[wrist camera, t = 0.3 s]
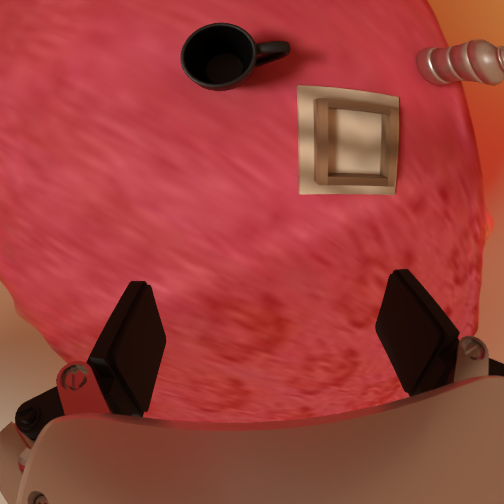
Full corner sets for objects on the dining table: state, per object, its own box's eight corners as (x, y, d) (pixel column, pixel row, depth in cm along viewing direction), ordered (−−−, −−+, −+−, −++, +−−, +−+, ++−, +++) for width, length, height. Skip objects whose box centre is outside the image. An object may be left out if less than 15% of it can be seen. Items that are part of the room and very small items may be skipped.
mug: (284, 90, 33) (297, 79, 24) (199, 100, 33) (184, 94, 25) (277, 39, 29) (287, 16, 20) (192, 50, 29) (176, 30, 21)
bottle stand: (296, 86, 32) (302, 82, 29) (395, 97, 32) (408, 96, 29) (298, 192, 40) (304, 200, 36) (391, 193, 40) (403, 200, 36)
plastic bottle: (425, 44, 27) (509, 29, 9) (446, 77, 29) (531, 78, 12) (404, 58, 29) (492, 41, 11) (426, 92, 31) (517, 95, 13)
